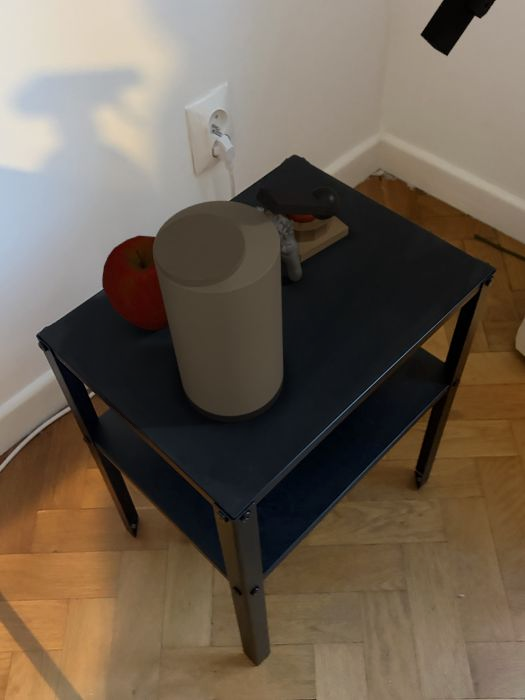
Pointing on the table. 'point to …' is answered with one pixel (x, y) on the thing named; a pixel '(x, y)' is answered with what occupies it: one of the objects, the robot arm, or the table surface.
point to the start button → (301, 218)
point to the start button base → (315, 234)
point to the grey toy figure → (287, 245)
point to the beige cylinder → (223, 306)
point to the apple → (135, 283)
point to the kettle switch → (300, 201)
